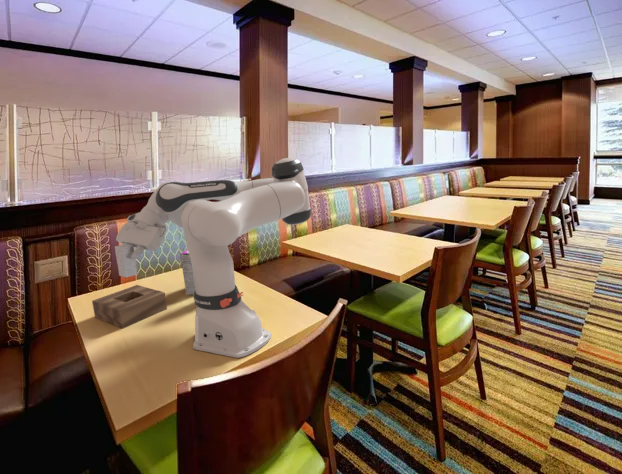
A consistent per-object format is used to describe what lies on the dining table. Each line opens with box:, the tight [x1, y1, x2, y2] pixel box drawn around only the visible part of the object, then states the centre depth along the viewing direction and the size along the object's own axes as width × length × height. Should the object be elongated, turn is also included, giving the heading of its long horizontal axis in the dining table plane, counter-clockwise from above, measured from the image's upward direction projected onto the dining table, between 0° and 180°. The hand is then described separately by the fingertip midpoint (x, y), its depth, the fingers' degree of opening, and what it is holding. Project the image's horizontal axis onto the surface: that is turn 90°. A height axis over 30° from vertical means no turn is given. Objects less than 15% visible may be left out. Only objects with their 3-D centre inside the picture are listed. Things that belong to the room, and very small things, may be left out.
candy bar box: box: [180, 248, 195, 296], centre depth 140 cm, size 11×5×16 cm, turn 179°
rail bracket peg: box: [114, 244, 138, 279], centre depth 120 cm, size 4×4×10 cm
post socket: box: [91, 284, 168, 329], centre depth 123 cm, size 16×16×6 cm
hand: (126, 257), depth 121 cm, fingers closed on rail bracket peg, 4 cm apart
